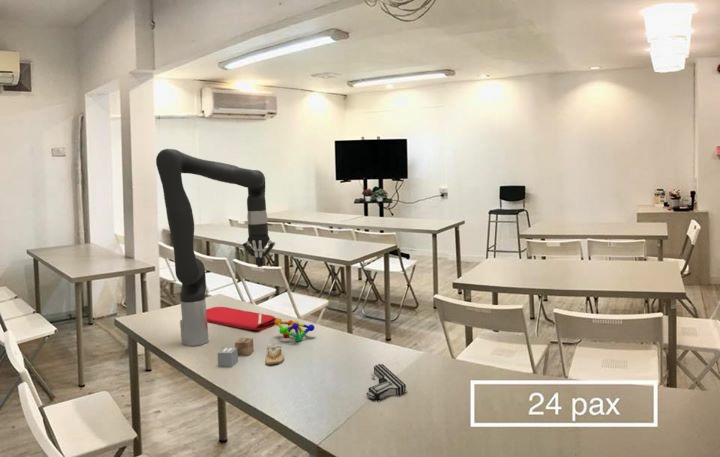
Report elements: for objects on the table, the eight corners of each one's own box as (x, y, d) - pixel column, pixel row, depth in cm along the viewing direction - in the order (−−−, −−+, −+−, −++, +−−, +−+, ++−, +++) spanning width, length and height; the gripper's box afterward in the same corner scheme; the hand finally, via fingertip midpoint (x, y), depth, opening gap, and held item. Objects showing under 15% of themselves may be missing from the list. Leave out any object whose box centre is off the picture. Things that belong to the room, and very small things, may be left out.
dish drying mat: (219, 311, 247) (219, 303, 246) (282, 323, 223) (282, 315, 223) (192, 320, 234) (191, 312, 234) (256, 334, 211) (255, 325, 210)
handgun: (370, 394, 146) (408, 386, 150) (348, 369, 164) (382, 363, 168) (370, 404, 147) (409, 395, 151) (348, 378, 164) (383, 371, 168)
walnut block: (235, 355, 187) (234, 342, 186) (241, 350, 192) (240, 337, 191) (248, 356, 186) (247, 342, 185) (253, 351, 191) (252, 337, 190)
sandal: (266, 367, 175) (265, 353, 175) (262, 351, 190) (261, 338, 190) (285, 364, 177) (285, 350, 176) (280, 349, 192) (279, 336, 191)
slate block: (218, 366, 177) (217, 352, 177) (224, 361, 182) (223, 346, 181) (232, 367, 176) (231, 352, 176) (238, 361, 181) (237, 347, 181)
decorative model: (298, 320, 213) (318, 318, 201) (297, 342, 211) (317, 341, 199) (270, 319, 205) (289, 317, 193) (269, 341, 203) (288, 341, 191)
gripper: (237, 223, 195) (240, 268, 198) (270, 223, 193) (273, 268, 195) (244, 221, 203) (247, 264, 205) (277, 220, 200) (279, 264, 203)
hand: (260, 266), depth 200 cm, fingers closed
